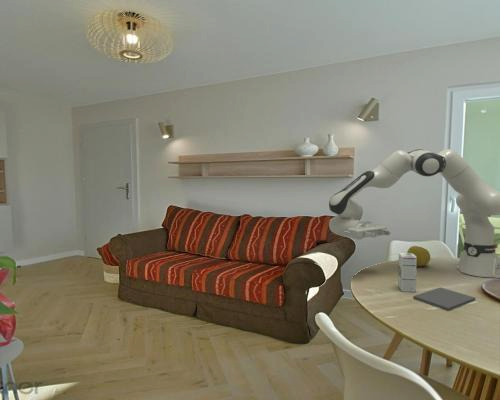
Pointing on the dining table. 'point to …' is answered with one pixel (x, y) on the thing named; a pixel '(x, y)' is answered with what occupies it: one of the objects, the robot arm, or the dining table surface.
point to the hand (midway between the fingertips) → (382, 234)
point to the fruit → (420, 255)
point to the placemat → (444, 298)
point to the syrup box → (407, 272)
